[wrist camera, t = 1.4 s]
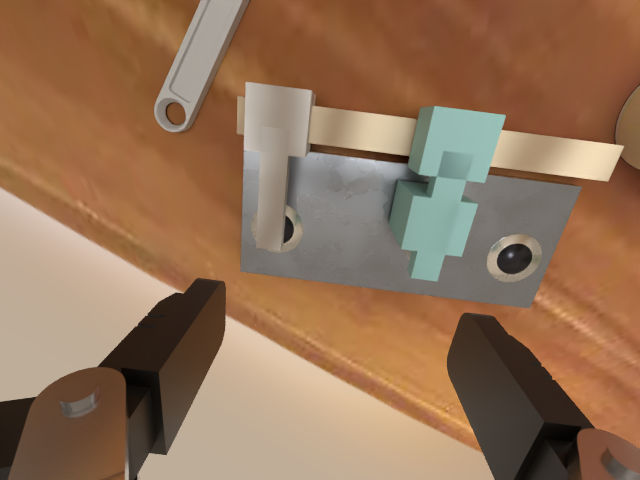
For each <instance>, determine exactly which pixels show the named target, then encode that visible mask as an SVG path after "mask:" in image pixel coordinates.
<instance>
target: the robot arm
mask: <svg viewBox="0 0 640 480" xmlns="http://www.w3.org/2000/svg"><path fill="white" fill-rule="evenodd" d="M225 305H226V287H225V283H224V281H217V280H210V279H202V278H197V279H196V280H195V281H194V282H193V283H192V285H191V286H190V287H189V288H188V289H187V290H186V292H185V293H184V294H183V293H174V294H173V295H171V296H169V297H167V298H165V299H163V300H161V301H160V302H158V303H157V305H156V306H155V307H154V308H153V309H152V310H151V311H150V312H149V313H148V316H145V317H144V318H143V319H142V321H140V322H139V323H138V326H137V327H135V328H134V329H133V330H132V331H131V332H130V333H129V334H128V335H127V336H126V337H125V338H124V340H122V341H121V342H120V343H119V344H118V346H117V347H116V348H115V349H114V350H113V351H112V352H111V353H110V354H109V355H108V356H107V357H106V358H105V359H104V360H103V361H102V362H101V363H100V364H99V366H98V367H94V368H87V369H83V370H79V371H76V372H74V373H71V374H68V375H66V376H64V377H62V378H60V379H58V380H57V381H55V382H53V383H52V384H51V385H49V386H48V387H46V388H45V389H44V390H43V391H42V392H41V393H40V394H39V395H38V396H37V397H32V398H25V399H18V400H11V401H3V402H0V480H139V471H140V468H141V467H142V465H143V463H144V461H145V460H146V458H147V456H148V454H149V453H154V454H162V455H167V453H168V451H169V448H170V447H171V445H172V443H173V441H174V439H175V437H176V435H177V433H178V431H179V429H180V427H181V425H182V422H183V421H184V419H185V417H186V415H187V412H188V410H189V408H190V407H191V404H192V402H193V400H194V398H195V396H196V394H197V392H198V390H199V388H200V386H201V384H202V382H203V380H204V378H205V376H206V374H207V372H208V370H209V368H210V366H211V364H212V362H213V360H214V358H215V356H216V354H217V352H218V350H219V348H220V346H221V344H222V341H223V337H224V331H225ZM447 370H448V374H449V377H450V379H451V382H452V384H453V386H454V388H455V391H456V393H457V395H458V397H459V400H460V402H461V404H462V406H463V409H464V411H465V413H466V416H467V418H468V420H469V422H470V425H471V427H472V429H473V431H474V434H475V436H476V438H477V440H478V443H479V445H480V447H481V449H482V452H483V454H484V456H485V458H486V461H487V463H488V465H489V468H490V470H491V472H492V474H493V476H494V479H495V480H640V449H639V448H637V447H636V446H634V445H633V444H631V443H629V442H628V441H626V440H624V439H622V438H620V437H618V436H616V435H614V434H612V433H609V432H606V431H603V430H599V429H595V427H594V426H593V425H592V424H591V423H590V421H589V420H588V419H587V418H586V417H585V415H584V414H583V413H582V412H581V411H580V409H579V408H578V407H577V406H576V405H575V403H574V402H573V401H572V400H571V399H570V398H569V396H568V395H567V394H566V393H565V392H564V390H563V389H562V388H561V387H560V386H559V384H558V383H557V382H556V381H555V380H552V376H551V375H550V374H549V372H548V371H547V370H546V369H545V368H544V367H542V366H541V363H540V362H539V361H538V359H537V358H536V357H535V356H534V355H533V353H532V352H531V351H530V350H529V349H528V348H527V347H526V346H524V345H523V344H522V343H520V342H519V341H518V340H516V339H515V338H514V337H512V336H511V335H508V333H507V332H506V331H505V330H504V328H503V327H502V326H501V325H500V323H499V322H498V321H497V320H496V318H495V317H493V316H490V315H482V314H474V313H464V314H463V315H462V316H461V318H460V320H459V323H458V326H457V329H456V332H455V335H454V338H453V341H452V344H451V346H450V349H449V352H448V357H447Z"/></svg>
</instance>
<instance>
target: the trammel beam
mask: <svg viewBox="0 0 640 480" xmlns="http://www.w3.org/2000/svg"><path fill="white" fill-rule="evenodd" d="M315 101H316V95H315V94H314V93H313V91H312V90H305V89H298V88H290V87H282V86H274V85H267V84H259V83H251V82H246V90H245V97H241V96H238V100H237V134H242V135H244V150H247V151H255V152H261V154H260V175H259V195H258V216H257V237H256V248H260V249H268V250H276V251H281V249H282V246H283V239H284V227H285V215H286V203H287V190H288V178H289V166H290V156H294V157H302V158H305V157H306V156H307V154H308V153H309V152H310V149H311V143H312V144H320V145H328V146H335V147H343V148H351V149H359V150H367V151H374V152H382V153H390V154H398V155H405V156H410V153H411V148H412V144H413V139H414V135H415V130H416V125H417V121H418V119H412V118H404V117H396V116H389V115H381V114H373V113H365V112H357V111H350V110H342V109H334V108H326V107H319V106H315ZM623 148H624V146H622V145H614V144H606V143H598V142H591V141H583V140H575V139H567V138H560V137H552V136H544V135H536V134H528V133H521V132H513V131H505V130H501V133H500V136H499V139H498V143H497V146H496V149H495V152H494V155H493V158H492V162H491V165H490V166H491V167H499V168H507V169H515V170H522V171H530V172H538V173H546V174H554V175H561V176H569V177H577V178H585V179H592V180H600V181H608V180H609V178H610V176H611V174H612V172H613V170H614V167H615V165H616V163H617V161H618V159H619V157H620V154H621V152H622V150H623Z"/></svg>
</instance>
